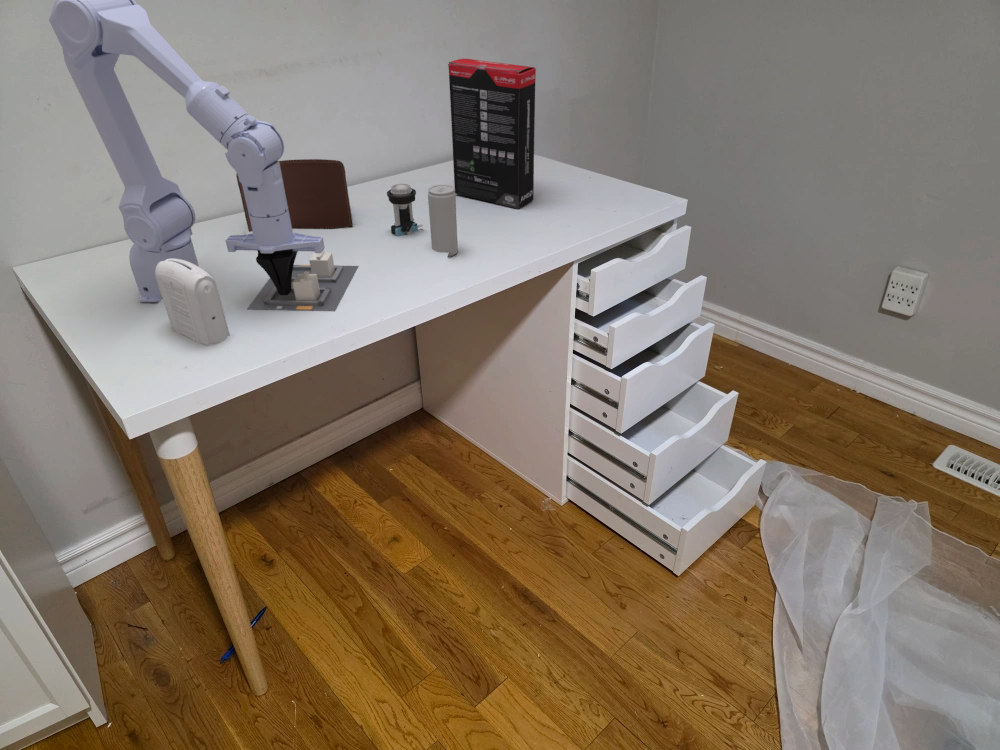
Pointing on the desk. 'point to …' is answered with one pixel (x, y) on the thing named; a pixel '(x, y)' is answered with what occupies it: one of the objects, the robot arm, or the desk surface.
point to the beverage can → (443, 219)
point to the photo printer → (192, 301)
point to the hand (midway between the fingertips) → (285, 292)
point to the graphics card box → (493, 130)
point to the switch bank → (326, 301)
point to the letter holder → (313, 194)
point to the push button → (403, 209)
